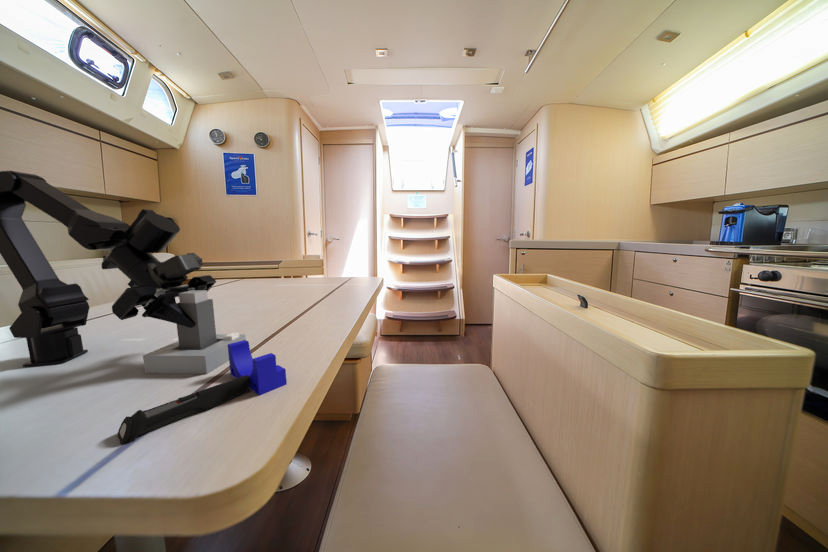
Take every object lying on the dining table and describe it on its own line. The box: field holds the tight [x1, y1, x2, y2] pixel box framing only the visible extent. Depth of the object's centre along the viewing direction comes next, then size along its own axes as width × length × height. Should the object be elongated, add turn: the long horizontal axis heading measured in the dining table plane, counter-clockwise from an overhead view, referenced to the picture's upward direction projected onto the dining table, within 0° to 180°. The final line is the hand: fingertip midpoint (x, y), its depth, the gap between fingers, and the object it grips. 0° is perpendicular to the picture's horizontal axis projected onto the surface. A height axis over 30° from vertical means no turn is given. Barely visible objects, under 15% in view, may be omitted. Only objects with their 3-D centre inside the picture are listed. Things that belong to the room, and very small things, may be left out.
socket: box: [142, 332, 247, 375], centre depth 60 cm, size 12×12×4 cm
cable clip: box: [228, 340, 287, 396], centre depth 51 cm, size 12×4×6 cm, turn 51°
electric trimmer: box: [116, 375, 250, 446], centre depth 42 cm, size 4×16×3 cm, turn 142°
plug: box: [176, 290, 217, 350], centre depth 59 cm, size 4×4×13 cm
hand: (202, 322), depth 59 cm, fingers closed on plug, 4 cm apart
